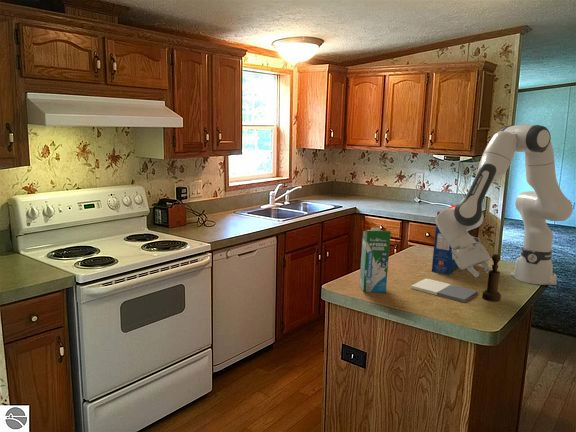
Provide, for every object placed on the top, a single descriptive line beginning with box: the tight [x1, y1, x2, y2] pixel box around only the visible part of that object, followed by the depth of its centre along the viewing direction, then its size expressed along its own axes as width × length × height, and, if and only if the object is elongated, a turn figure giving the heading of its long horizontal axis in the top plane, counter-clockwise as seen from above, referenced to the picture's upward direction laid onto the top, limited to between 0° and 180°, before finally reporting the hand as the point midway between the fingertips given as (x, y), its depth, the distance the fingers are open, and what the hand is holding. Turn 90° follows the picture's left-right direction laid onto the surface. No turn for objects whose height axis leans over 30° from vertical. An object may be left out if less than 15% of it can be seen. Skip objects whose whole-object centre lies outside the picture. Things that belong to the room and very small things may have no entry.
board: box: [410, 278, 479, 303], centre depth 193 cm, size 14×22×1 cm, turn 49°
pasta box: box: [431, 204, 470, 276], centre depth 226 cm, size 28×8×28 cm, turn 146°
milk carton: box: [359, 227, 392, 293], centre depth 190 cm, size 9×9×25 cm
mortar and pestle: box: [481, 253, 502, 303], centre depth 184 cm, size 7×6×18 cm
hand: (483, 274), depth 187 cm, fingers open, 8 cm apart
